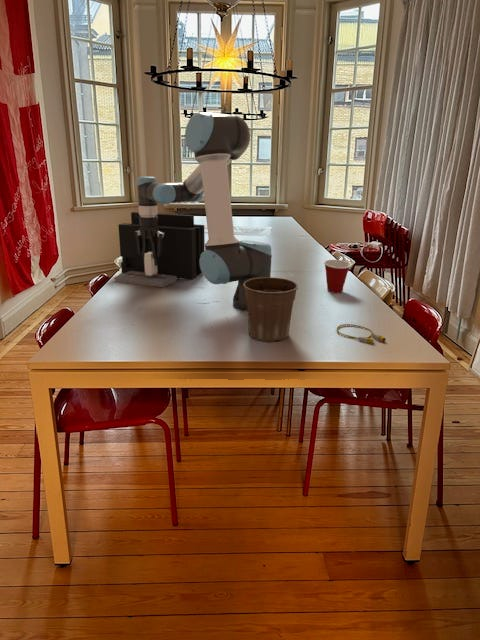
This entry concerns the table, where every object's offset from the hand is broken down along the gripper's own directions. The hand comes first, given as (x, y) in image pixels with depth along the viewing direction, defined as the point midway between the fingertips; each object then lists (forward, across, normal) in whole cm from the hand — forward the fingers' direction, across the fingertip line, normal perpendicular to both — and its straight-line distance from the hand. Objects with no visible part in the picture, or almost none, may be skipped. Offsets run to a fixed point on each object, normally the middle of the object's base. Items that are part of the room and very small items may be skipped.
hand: (151, 272), depth 197 cm
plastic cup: (+4, -76, -17) cm, 77 cm away
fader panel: (+4, +2, 0) cm, 5 cm away
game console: (+4, +3, -24) cm, 24 cm away
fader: (+2, 0, 0) cm, 2 cm away
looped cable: (+5, -90, +29) cm, 95 cm away
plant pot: (+5, -65, +40) cm, 76 cm away
